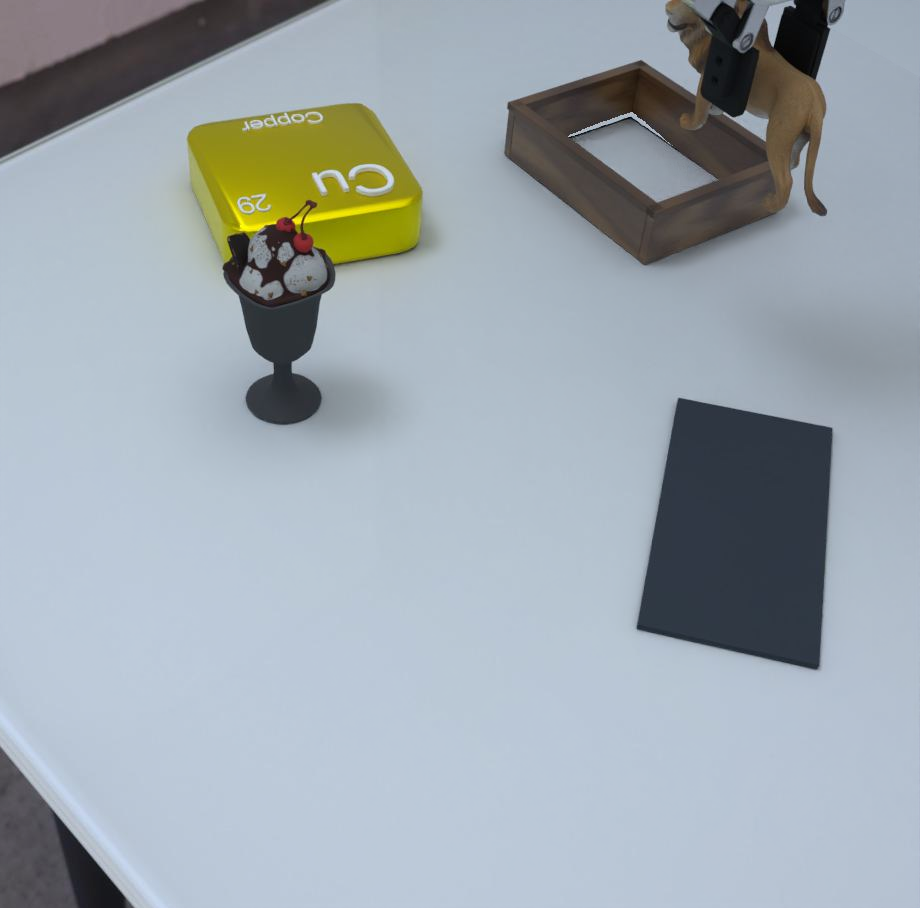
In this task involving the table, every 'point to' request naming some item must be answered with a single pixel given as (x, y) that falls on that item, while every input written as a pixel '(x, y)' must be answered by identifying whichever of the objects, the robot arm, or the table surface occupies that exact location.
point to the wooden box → (609, 194)
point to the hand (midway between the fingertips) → (756, 91)
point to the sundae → (280, 311)
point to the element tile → (308, 180)
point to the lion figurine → (763, 104)
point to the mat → (741, 534)
